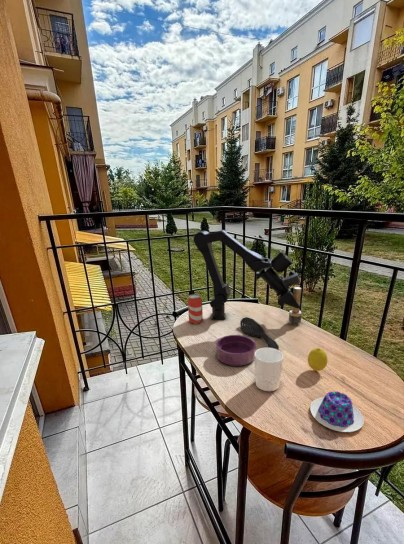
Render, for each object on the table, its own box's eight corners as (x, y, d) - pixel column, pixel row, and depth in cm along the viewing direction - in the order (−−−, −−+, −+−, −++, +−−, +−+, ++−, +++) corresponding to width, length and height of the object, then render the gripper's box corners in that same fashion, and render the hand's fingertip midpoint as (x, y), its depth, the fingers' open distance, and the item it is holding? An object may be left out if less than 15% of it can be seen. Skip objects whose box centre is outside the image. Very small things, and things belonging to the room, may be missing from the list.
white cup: (276, 396, 77) (278, 365, 73) (249, 387, 81) (250, 357, 77) (284, 381, 83) (287, 351, 79) (259, 373, 87) (260, 345, 83)
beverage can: (195, 325, 121) (193, 299, 116) (186, 321, 125) (184, 296, 121) (205, 321, 124) (204, 296, 120) (196, 317, 129) (195, 292, 125)
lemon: (316, 378, 83) (319, 354, 81) (302, 369, 88) (305, 346, 85) (329, 372, 86) (333, 349, 83) (315, 364, 90) (318, 342, 88)
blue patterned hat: (300, 403, 74) (302, 387, 72) (340, 395, 76) (343, 379, 74) (329, 439, 63) (332, 421, 61) (375, 428, 65) (379, 410, 63)
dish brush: (287, 318, 122) (290, 286, 116) (299, 318, 121) (302, 286, 116) (290, 323, 117) (292, 290, 112) (302, 323, 116) (305, 290, 111)
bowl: (217, 346, 103) (216, 334, 101) (253, 347, 102) (253, 334, 100) (216, 367, 91) (215, 353, 89) (257, 367, 90) (257, 354, 88)
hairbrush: (267, 347, 96) (236, 317, 118) (266, 356, 97) (236, 324, 119) (288, 342, 98) (253, 314, 120) (287, 351, 100) (253, 321, 121)
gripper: (288, 272, 103) (317, 302, 104) (288, 261, 120) (313, 287, 121) (266, 291, 108) (293, 320, 109) (269, 278, 125) (293, 303, 126)
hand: (299, 306), depth 116 cm, fingers closed on dish brush, 3 cm apart
